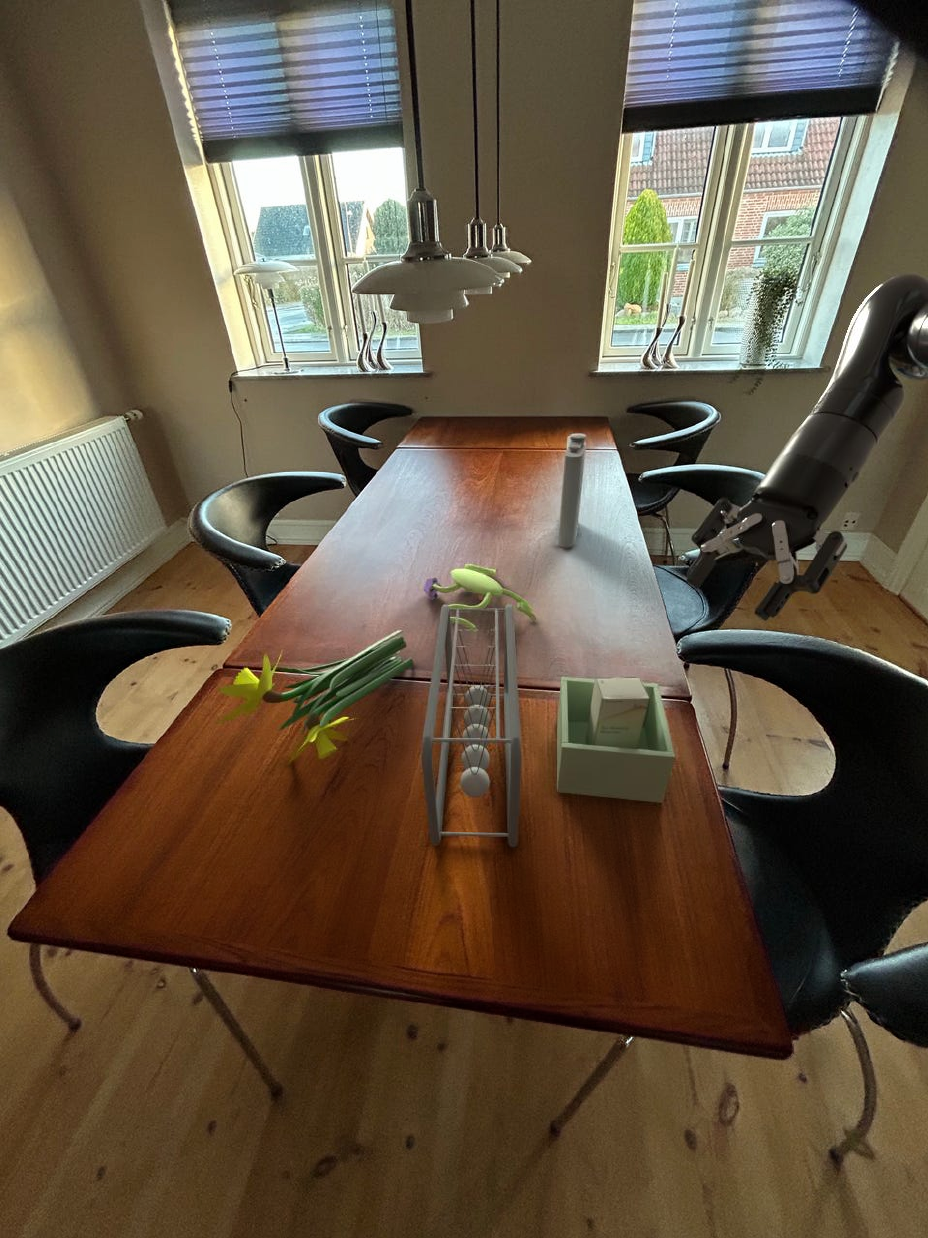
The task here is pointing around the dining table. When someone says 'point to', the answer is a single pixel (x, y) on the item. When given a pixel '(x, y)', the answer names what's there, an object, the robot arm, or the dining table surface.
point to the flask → (571, 489)
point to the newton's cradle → (473, 728)
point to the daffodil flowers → (360, 681)
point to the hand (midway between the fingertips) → (724, 600)
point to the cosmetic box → (617, 712)
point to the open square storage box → (611, 750)
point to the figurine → (475, 591)
